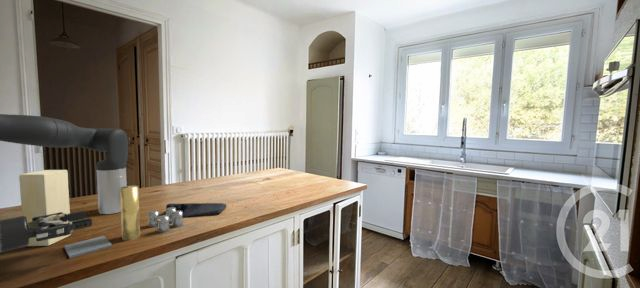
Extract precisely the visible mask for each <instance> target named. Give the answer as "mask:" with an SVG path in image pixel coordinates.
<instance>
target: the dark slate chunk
mask: <svg viewBox="0 0 640 288" xmlns="http://www.w3.org/2000/svg"><path fill="white" fill-rule="evenodd" d="M170 207H175V208H176V211H179V210H181V211H183V218H191V217H200V216H201V217H202V216H211V215H212V216H213V215H218V214H220V213H221V212H222V211H224V210H225V209H226V208H227V207H228V206H227V204H226V203H222V202H216V203H215V202H212V203H210V202H206V203H197V202H196V203H195V202H194V203H193V202H192V203H191V202H190V203H189V202H187V203H167V204H166V207H165V210H166V209H167V208H170Z"/></svg>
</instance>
